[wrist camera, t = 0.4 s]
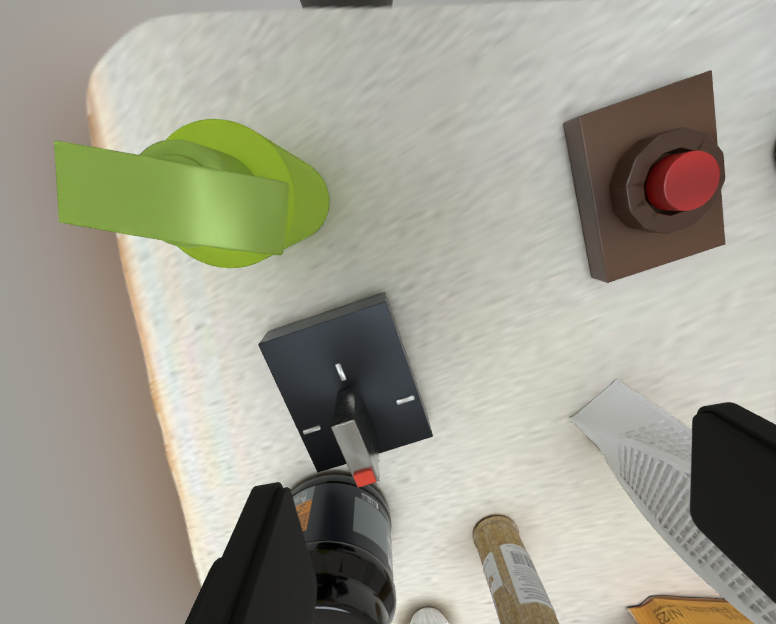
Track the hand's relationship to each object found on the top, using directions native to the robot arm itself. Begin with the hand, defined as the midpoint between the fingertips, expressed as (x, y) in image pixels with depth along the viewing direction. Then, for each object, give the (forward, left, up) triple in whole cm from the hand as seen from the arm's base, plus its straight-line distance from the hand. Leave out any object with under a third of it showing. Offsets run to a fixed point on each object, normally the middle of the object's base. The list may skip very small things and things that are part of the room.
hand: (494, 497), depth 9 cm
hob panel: (+7, -6, -23) cm, 24 cm away
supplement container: (+21, -10, -23) cm, 32 cm away
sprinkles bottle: (+26, +5, -23) cm, 35 cm away
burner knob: (+9, -5, -19) cm, 22 cm away
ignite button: (-5, +18, -19) cm, 27 cm away
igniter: (-5, +18, -23) cm, 29 cm away
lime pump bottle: (-8, -7, -23) cm, 25 cm away
